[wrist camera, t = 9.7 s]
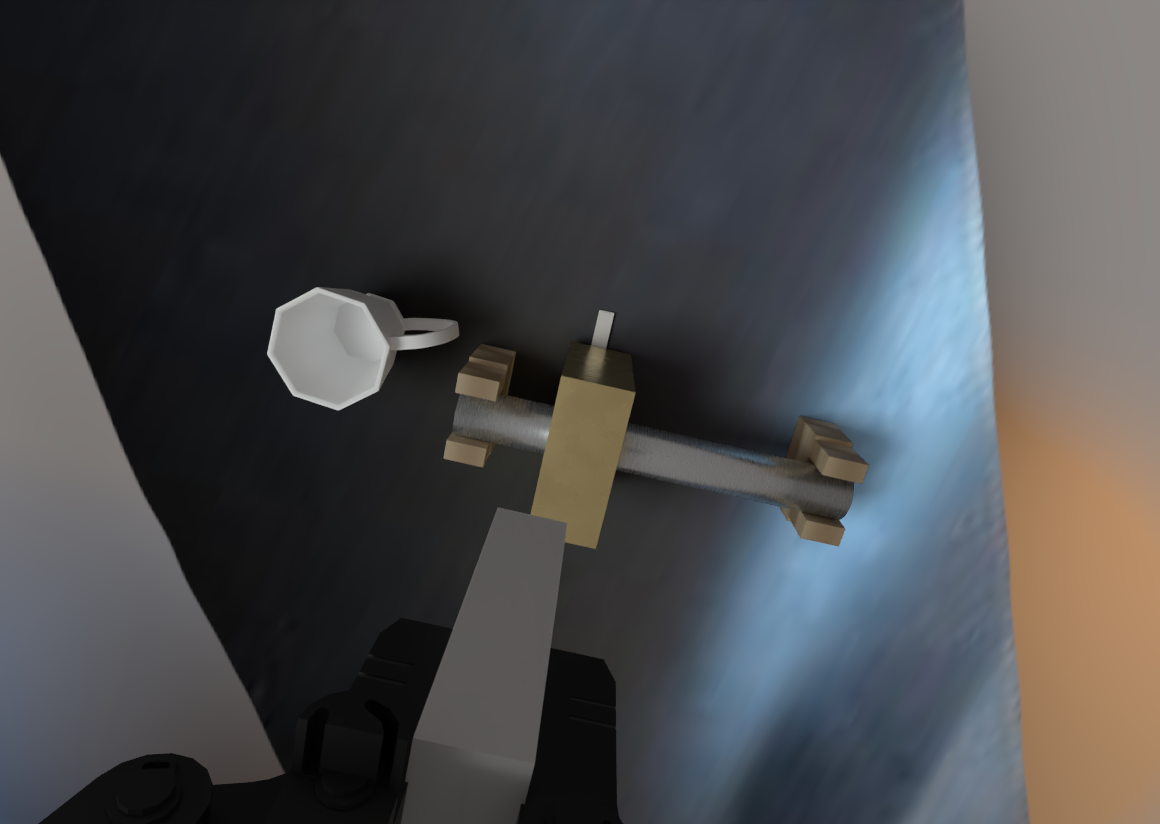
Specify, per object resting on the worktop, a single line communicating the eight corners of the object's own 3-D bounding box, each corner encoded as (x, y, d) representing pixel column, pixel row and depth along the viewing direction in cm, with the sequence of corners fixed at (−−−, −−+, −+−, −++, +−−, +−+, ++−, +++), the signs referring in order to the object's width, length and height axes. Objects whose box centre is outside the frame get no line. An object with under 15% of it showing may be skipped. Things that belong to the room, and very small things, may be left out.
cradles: (465, 426, 48) (442, 463, 42) (481, 343, 47) (459, 367, 40) (806, 502, 49) (837, 550, 42) (833, 423, 47) (870, 460, 40)
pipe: (460, 427, 44) (448, 445, 41) (469, 376, 43) (458, 390, 40) (825, 508, 45) (841, 532, 42) (842, 460, 44) (861, 481, 41)
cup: (313, 275, 46) (253, 291, 38) (464, 266, 45) (433, 279, 37) (331, 379, 48) (278, 414, 40) (475, 371, 47) (449, 404, 39)
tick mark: (555, 500, 50) (555, 501, 50) (599, 309, 46) (599, 310, 45) (569, 503, 50) (568, 504, 50) (614, 312, 46) (614, 313, 45)
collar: (542, 471, 48) (526, 533, 39) (571, 341, 45) (561, 375, 36) (598, 484, 48) (595, 548, 39) (630, 354, 46) (635, 392, 37)
